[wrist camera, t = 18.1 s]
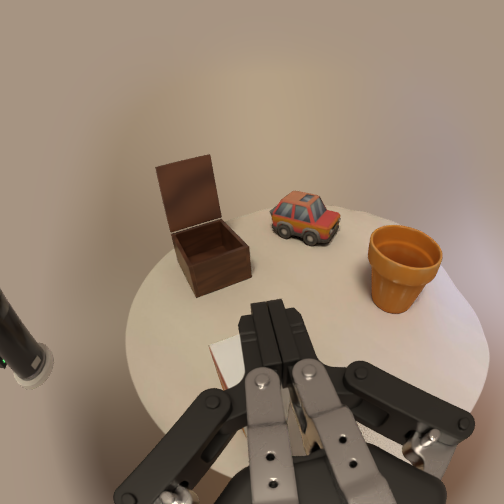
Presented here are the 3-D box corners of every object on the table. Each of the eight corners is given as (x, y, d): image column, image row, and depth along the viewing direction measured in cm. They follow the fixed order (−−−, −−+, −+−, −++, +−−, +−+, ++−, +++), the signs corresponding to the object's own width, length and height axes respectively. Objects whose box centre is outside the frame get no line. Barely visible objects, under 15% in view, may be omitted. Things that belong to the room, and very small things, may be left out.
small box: (223, 394, 36) (207, 343, 28) (263, 378, 38) (259, 324, 30) (245, 439, 30) (234, 403, 22) (288, 421, 31) (294, 377, 24)
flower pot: (351, 314, 47) (365, 256, 40) (364, 270, 57) (374, 218, 50) (420, 331, 41) (446, 276, 34) (421, 284, 51) (438, 234, 44)
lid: (210, 154, 58) (209, 154, 58) (155, 167, 53) (155, 167, 54) (221, 217, 64) (220, 216, 65) (170, 232, 60) (170, 231, 60)
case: (251, 277, 58) (249, 246, 54) (196, 297, 54) (188, 267, 49) (225, 246, 69) (221, 218, 65) (178, 261, 65) (171, 233, 60)
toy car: (326, 251, 64) (330, 214, 59) (267, 234, 73) (266, 199, 67) (341, 230, 72) (344, 197, 66) (287, 216, 80) (287, 185, 75)
